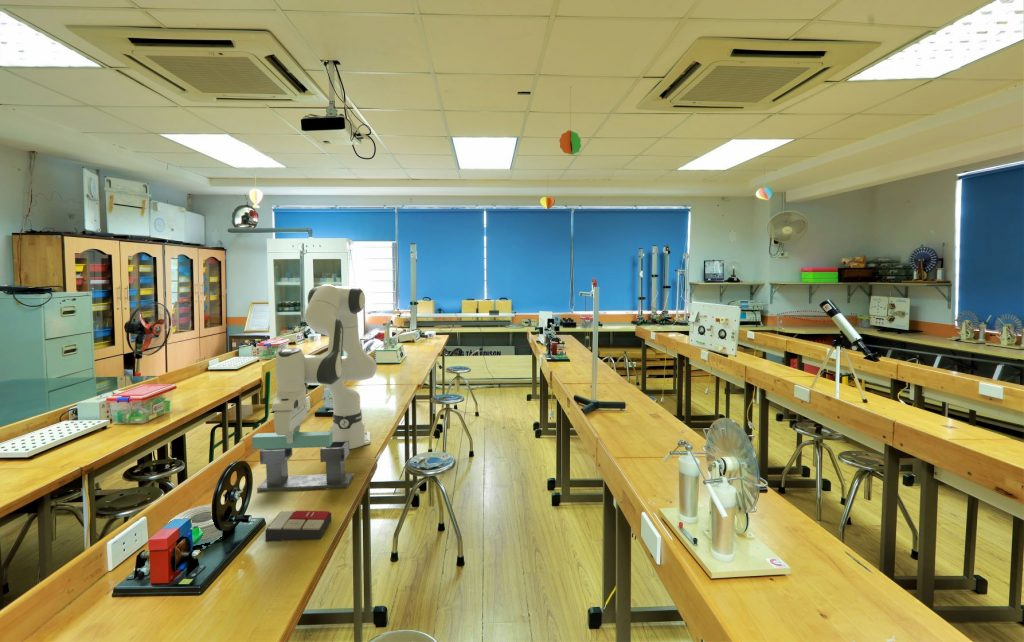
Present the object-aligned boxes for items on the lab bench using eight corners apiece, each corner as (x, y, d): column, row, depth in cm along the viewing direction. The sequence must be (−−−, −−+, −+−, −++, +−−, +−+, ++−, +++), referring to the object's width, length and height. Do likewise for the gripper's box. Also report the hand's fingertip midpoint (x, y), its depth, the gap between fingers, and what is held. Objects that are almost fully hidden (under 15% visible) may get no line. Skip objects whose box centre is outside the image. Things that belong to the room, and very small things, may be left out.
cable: (197, 556, 130) (195, 534, 130) (148, 545, 136) (147, 524, 135) (250, 525, 147) (249, 505, 146) (205, 516, 152) (204, 497, 152)
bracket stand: (268, 479, 179) (266, 442, 178) (353, 476, 182) (352, 439, 181) (257, 491, 169) (255, 452, 168) (347, 487, 172) (346, 449, 171)
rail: (257, 445, 163) (257, 433, 163) (332, 442, 165) (332, 431, 165) (252, 449, 159) (252, 437, 159) (329, 446, 161) (329, 435, 161)
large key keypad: (320, 528, 138) (264, 527, 137) (320, 542, 138) (264, 542, 137) (331, 509, 149) (280, 508, 148) (331, 523, 149) (280, 522, 148)
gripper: (292, 391, 171) (294, 430, 172) (269, 407, 150) (271, 451, 152) (311, 390, 171) (312, 429, 173) (290, 406, 151) (292, 450, 152)
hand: (293, 439), depth 162 cm, fingers closed on rail, 4 cm apart
